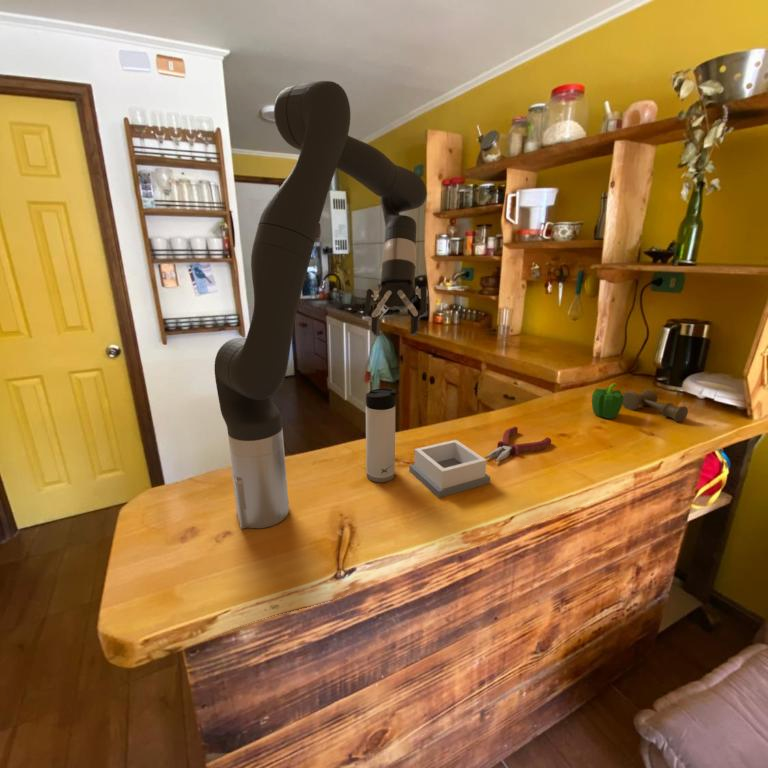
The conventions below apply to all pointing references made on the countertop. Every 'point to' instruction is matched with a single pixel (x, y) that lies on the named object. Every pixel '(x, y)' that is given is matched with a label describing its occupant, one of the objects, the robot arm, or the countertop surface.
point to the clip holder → (449, 468)
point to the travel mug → (380, 434)
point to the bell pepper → (607, 402)
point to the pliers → (516, 446)
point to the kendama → (653, 404)
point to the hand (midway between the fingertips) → (394, 335)
